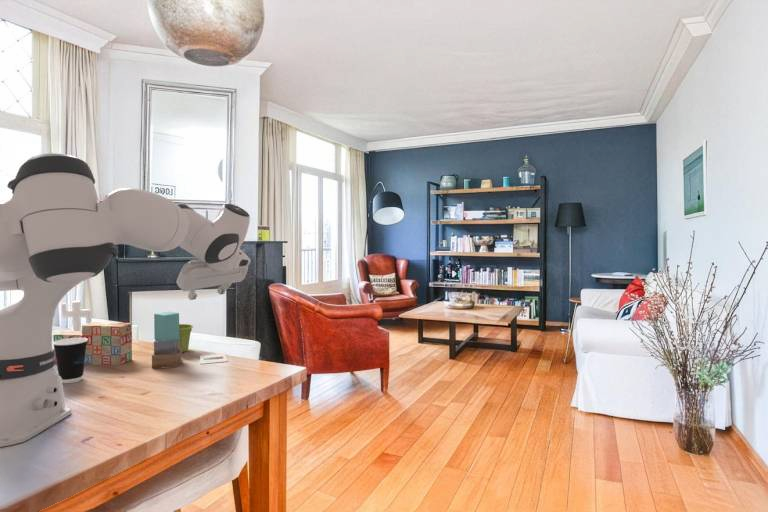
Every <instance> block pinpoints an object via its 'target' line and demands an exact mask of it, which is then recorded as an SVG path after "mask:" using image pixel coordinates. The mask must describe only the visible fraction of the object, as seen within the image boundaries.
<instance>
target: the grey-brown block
mask: <svg viewBox="0 0 768 512" xmlns="http://www.w3.org/2000/svg"><path fill="white" fill-rule="evenodd" d="M182 353H183V352H182V349H180V340H179V339H175V340H170V341H165V342H163V341H158V340H155V339H154V342H153V354H151V369H152V368H153V369H163V368H162V367H171V368H178V367H179V365H180V364H181V363H182V360H183V357H182V355H183V354H182ZM180 362H181V363H180ZM177 366H178V367H177Z"/></svg>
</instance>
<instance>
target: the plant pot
mask: <svg viewBox="0 0 768 512" xmlns="http://www.w3.org/2000/svg"><path fill="white" fill-rule="evenodd" d="M193 328H194V325H192V324H188V323H179V340H180V349H182V353H183V352H184V353H185V352H188V351H189V344H190V339H191V332H192V329H193Z"/></svg>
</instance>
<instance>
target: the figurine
mask: <svg viewBox="0 0 768 512" xmlns="http://www.w3.org/2000/svg"><path fill="white" fill-rule="evenodd" d="M71 307H72V309H68V303H67V302H63V303H61V316H62V317H63V318H65V319H66V318H72V328H69V329H66V331H82V325H81V324H82V318H85V322H86V324H89V323H92V311H91V309H89V308H88V309H87V308H86V309H82V308H81V307H82V301H81V300H79V299H78V300H73V301H71Z"/></svg>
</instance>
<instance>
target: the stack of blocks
mask: <svg viewBox="0 0 768 512" xmlns="http://www.w3.org/2000/svg"><path fill="white" fill-rule="evenodd" d="M81 329H82V331H67V330H65V331H62V332H59V333H55V334H52V340H53V342H54V341H57V340H61V339H67V338H87V339H88V341H87V343H86V352H85V361H84V365H102V366H103V365H105V366H106V365H107V366H122V365H123V363H124V364H126V363H128V362H130V361H132V359H133V351H132V350H133V349H132V348H133V323H132V322H121V321H112V322H110V321H104V322H103V321H94V322H91V323H89V324H88V323H86V324H82V325H81ZM53 350H54V355H55V348H54V347H53ZM127 361H128V362H127ZM125 362H126V363H125ZM55 364H57V361H56V355H55ZM121 364H122V365H121Z"/></svg>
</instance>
